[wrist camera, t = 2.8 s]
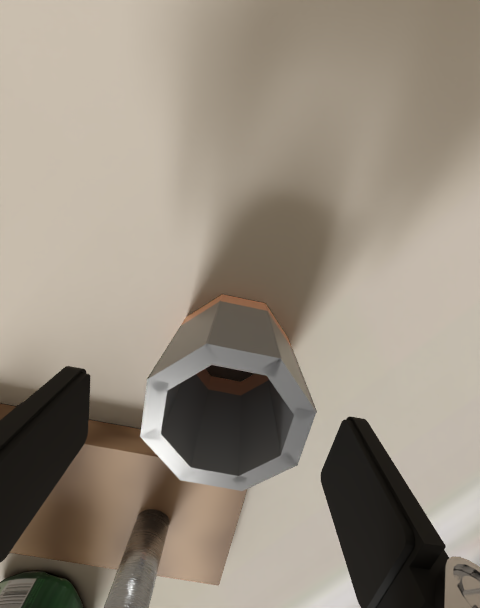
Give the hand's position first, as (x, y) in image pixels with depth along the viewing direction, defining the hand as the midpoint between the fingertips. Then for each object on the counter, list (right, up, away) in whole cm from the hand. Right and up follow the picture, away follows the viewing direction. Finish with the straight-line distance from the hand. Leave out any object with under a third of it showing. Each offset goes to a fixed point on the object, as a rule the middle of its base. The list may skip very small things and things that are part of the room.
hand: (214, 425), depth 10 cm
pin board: (-11, -10, +11) cm, 18 cm away
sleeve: (+1, +2, +7) cm, 8 cm away
